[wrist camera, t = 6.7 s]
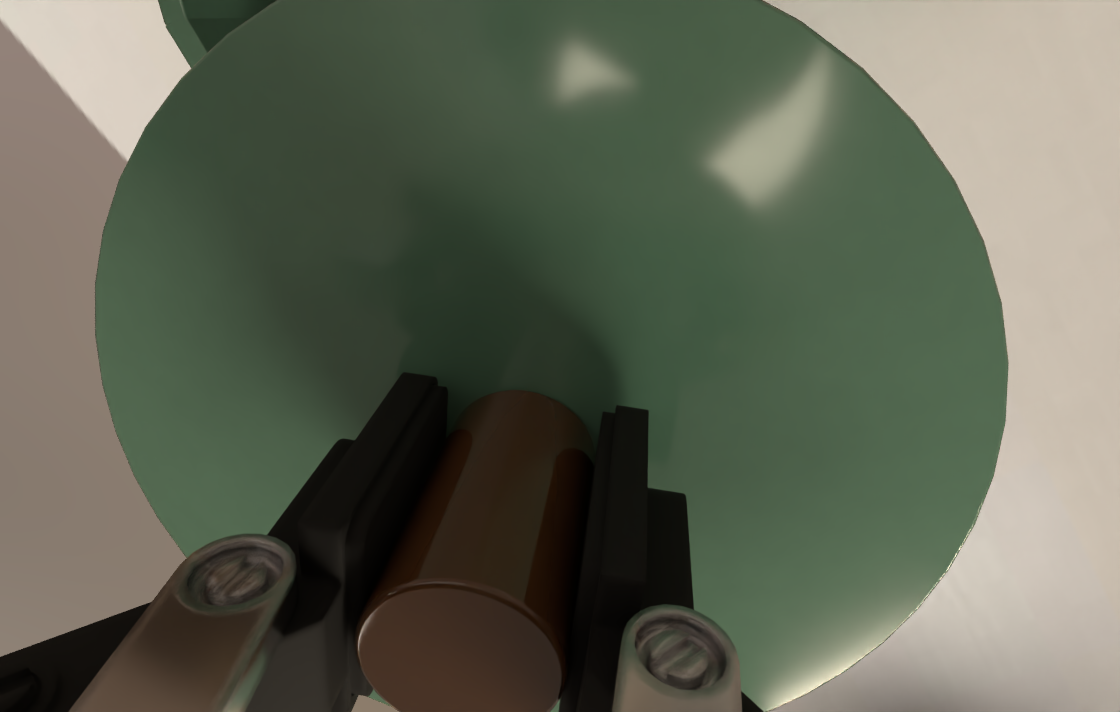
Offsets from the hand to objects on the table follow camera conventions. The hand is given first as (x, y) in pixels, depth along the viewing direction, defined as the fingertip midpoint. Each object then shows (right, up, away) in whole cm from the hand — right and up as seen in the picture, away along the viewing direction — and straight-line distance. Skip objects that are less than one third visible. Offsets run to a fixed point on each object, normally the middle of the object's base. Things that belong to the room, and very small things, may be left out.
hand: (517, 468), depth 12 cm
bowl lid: (0, 0, +1) cm, 1 cm away
